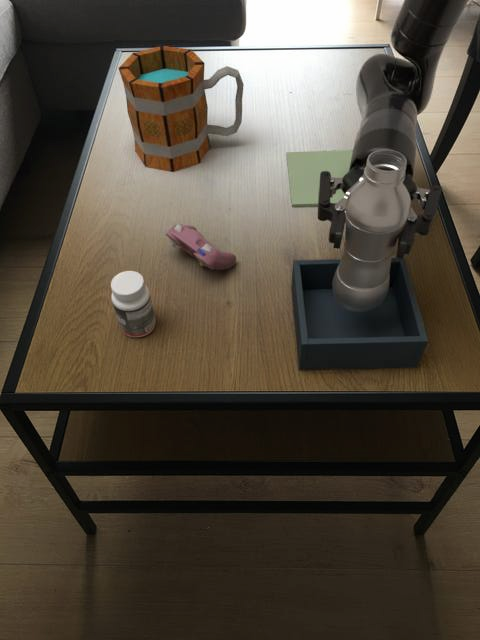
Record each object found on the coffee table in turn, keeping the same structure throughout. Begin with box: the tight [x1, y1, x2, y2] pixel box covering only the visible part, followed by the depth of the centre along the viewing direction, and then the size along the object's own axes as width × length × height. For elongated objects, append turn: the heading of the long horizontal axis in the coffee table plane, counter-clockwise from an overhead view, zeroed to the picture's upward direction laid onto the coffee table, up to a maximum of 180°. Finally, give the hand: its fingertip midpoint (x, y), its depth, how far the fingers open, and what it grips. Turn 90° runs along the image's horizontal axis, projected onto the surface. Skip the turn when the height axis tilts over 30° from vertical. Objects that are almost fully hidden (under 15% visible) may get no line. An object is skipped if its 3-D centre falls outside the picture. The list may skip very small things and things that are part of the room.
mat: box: [285, 149, 353, 208], centre depth 90 cm, size 16×14×1 cm
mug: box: [118, 45, 245, 173], centre depth 90 cm, size 20×14×15 cm
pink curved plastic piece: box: [165, 222, 237, 270], centre depth 77 cm, size 10×5×7 cm, turn 45°
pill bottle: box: [110, 270, 157, 338], centre depth 68 cm, size 5×5×8 cm
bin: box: [290, 257, 429, 371], centre depth 68 cm, size 15×14×6 cm
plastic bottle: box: [332, 149, 412, 312], centre depth 58 cm, size 6×7×20 cm
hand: (369, 247), depth 56 cm, fingers closed on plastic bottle, 6 cm apart
